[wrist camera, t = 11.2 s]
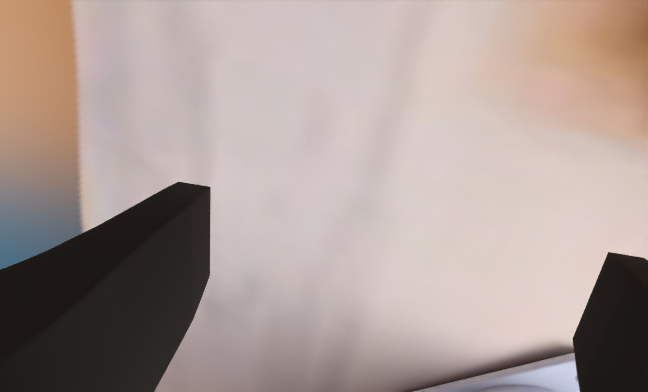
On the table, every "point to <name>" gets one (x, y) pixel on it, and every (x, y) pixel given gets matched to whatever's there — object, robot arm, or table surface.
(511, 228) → the table surface
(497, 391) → the robot arm
